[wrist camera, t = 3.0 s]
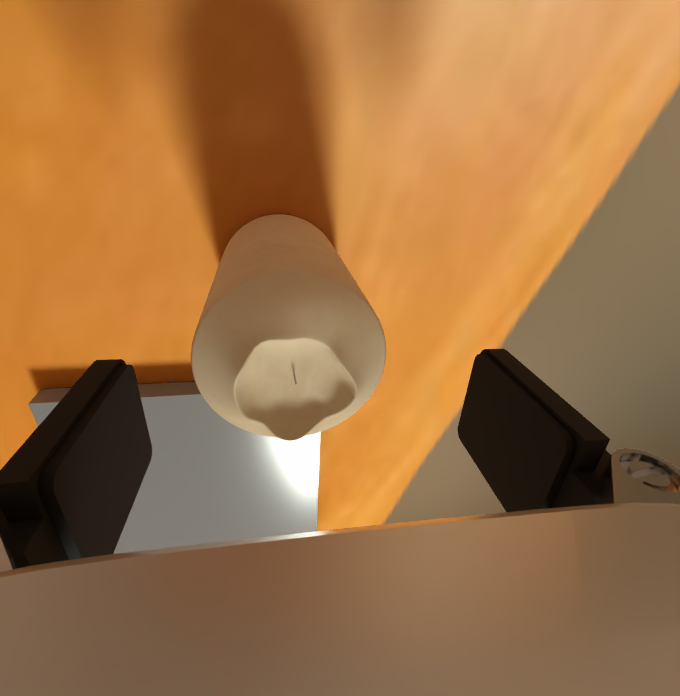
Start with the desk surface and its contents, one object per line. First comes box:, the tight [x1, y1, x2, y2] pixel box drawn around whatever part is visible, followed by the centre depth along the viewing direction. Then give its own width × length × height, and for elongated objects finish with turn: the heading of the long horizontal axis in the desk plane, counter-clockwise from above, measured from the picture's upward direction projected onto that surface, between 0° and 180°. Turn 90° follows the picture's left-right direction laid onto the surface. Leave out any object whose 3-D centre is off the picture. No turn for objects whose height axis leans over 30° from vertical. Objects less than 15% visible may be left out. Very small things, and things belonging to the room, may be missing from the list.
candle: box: [191, 214, 386, 441], centre depth 14 cm, size 6×6×10 cm
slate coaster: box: [29, 382, 320, 554], centre depth 23 cm, size 14×14×1 cm
